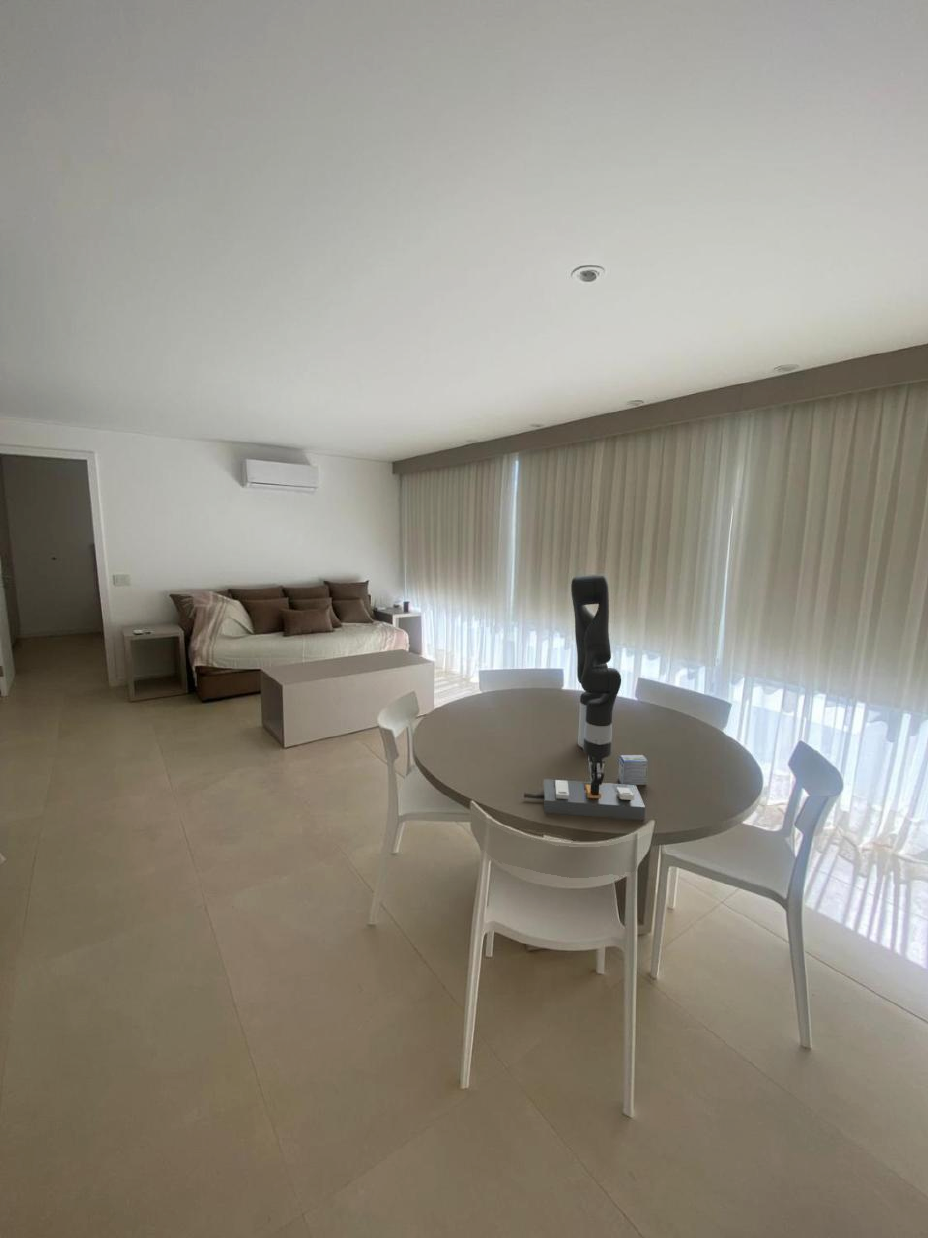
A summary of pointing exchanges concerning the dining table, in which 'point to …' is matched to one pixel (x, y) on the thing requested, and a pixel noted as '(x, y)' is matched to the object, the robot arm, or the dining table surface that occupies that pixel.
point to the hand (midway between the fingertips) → (594, 794)
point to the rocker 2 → (590, 792)
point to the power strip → (591, 801)
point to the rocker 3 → (625, 793)
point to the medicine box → (633, 769)
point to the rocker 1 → (562, 789)
